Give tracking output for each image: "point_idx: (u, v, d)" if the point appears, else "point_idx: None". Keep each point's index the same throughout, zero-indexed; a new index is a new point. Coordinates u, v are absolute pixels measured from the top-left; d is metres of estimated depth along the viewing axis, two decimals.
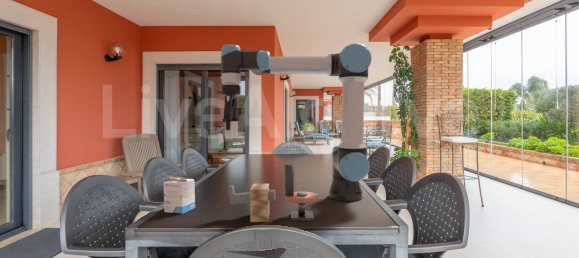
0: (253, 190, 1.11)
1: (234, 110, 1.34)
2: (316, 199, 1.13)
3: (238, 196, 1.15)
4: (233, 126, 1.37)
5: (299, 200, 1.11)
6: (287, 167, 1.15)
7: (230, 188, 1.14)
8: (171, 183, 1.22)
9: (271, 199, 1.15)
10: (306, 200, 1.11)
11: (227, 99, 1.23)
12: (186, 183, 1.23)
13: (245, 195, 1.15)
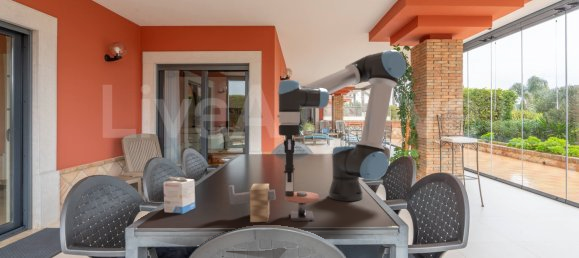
0: (253, 190, 1.11)
1: None
2: (316, 199, 1.13)
3: (238, 196, 1.15)
4: None
5: (299, 200, 1.11)
6: None
7: (230, 188, 1.14)
8: (171, 183, 1.22)
9: (271, 199, 1.15)
10: (306, 200, 1.11)
11: (288, 148, 1.10)
12: (186, 183, 1.23)
13: (245, 195, 1.15)
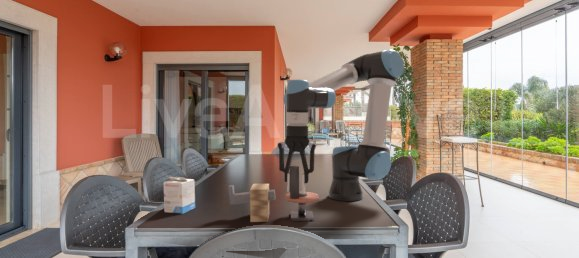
0: (253, 190, 1.11)
1: (292, 155, 1.13)
2: None
3: (238, 196, 1.15)
4: None
5: (313, 199, 1.12)
6: (296, 169, 1.11)
7: (230, 188, 1.14)
8: (171, 183, 1.22)
9: (271, 199, 1.15)
10: (317, 198, 1.14)
11: (314, 148, 1.11)
12: (186, 183, 1.23)
13: (245, 195, 1.15)
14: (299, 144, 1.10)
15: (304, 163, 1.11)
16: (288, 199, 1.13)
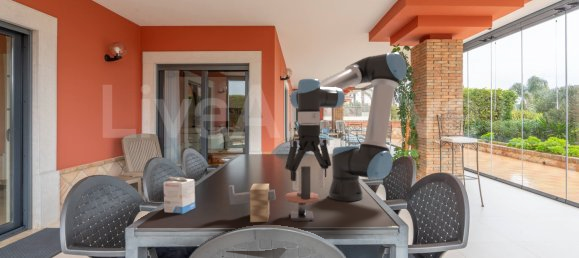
0: (253, 190, 1.11)
1: None
2: None
3: (238, 196, 1.15)
4: None
5: None
6: None
7: (230, 188, 1.14)
8: (171, 183, 1.22)
9: (271, 199, 1.15)
10: None
11: None
12: (186, 183, 1.23)
13: (245, 195, 1.15)
14: (315, 143, 1.11)
15: (322, 159, 1.13)
16: (302, 201, 1.10)
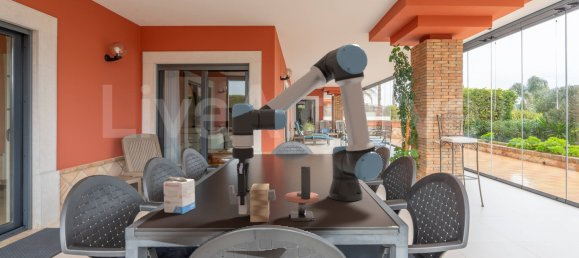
0: (253, 190, 1.11)
1: (245, 176, 1.17)
2: None
3: (238, 196, 1.15)
4: None
5: None
6: None
7: (230, 188, 1.14)
8: (171, 183, 1.22)
9: (271, 199, 1.15)
10: None
11: (240, 172, 1.10)
12: (186, 183, 1.23)
13: None
14: (237, 165, 1.15)
15: None
16: (302, 201, 1.10)
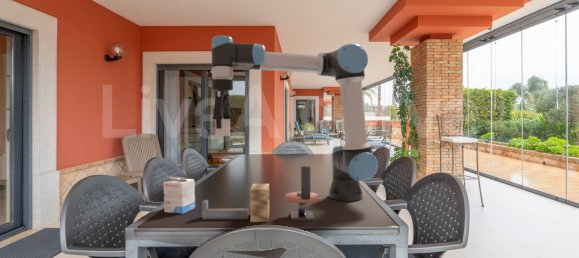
0: (253, 190, 1.11)
1: (226, 107, 1.24)
2: None
3: (211, 212, 1.15)
4: (225, 124, 1.27)
5: None
6: None
7: (204, 203, 1.14)
8: (171, 183, 1.22)
9: (243, 218, 1.15)
10: None
11: (218, 95, 1.13)
12: (186, 183, 1.23)
13: (218, 212, 1.15)
14: None
15: None
16: (302, 201, 1.10)
